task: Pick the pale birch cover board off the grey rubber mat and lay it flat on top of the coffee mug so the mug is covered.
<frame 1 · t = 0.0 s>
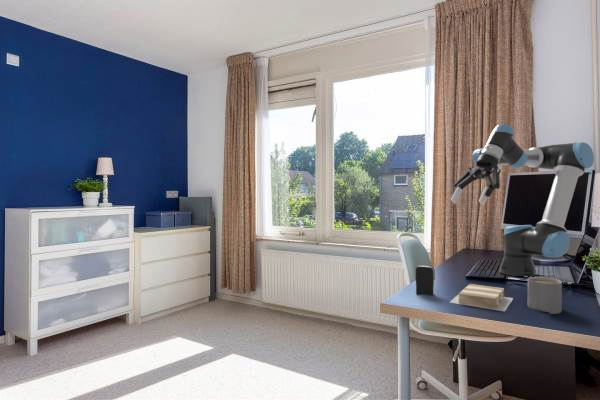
hand: (466, 202, 152), 36 cm above the table, tool tilted 35°, fingers open, 13 cm apart
battery: (425, 295, 153), on the table
cover board: (481, 300, 143), point 1 cm above the table, touching grey mat
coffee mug: (543, 308, 136), on the table
grey mat: (481, 301, 143), on the table
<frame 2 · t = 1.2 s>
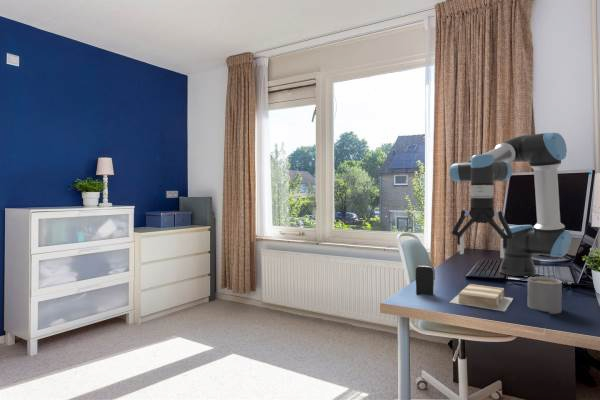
hand: (481, 255, 142), 17 cm above the table, tool pointing down, fingers open, 13 cm apart
nothing on the table moved.
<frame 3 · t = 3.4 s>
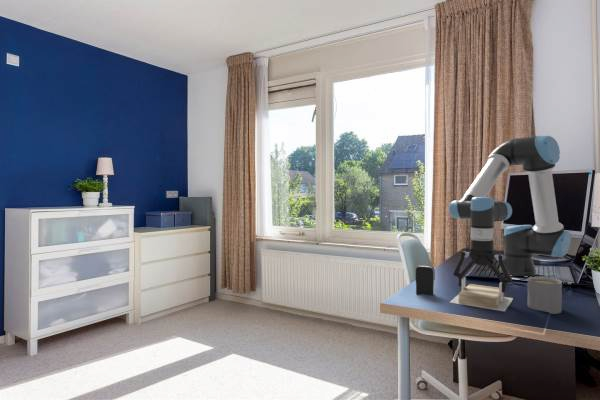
hand: (481, 298, 143), 1 cm above the table, tool pointing down, fingers closed on cover board, 12 cm apart
cover board: (481, 300, 143), point 1 cm above the table, touching grey mat, gripper
everything else where it was.
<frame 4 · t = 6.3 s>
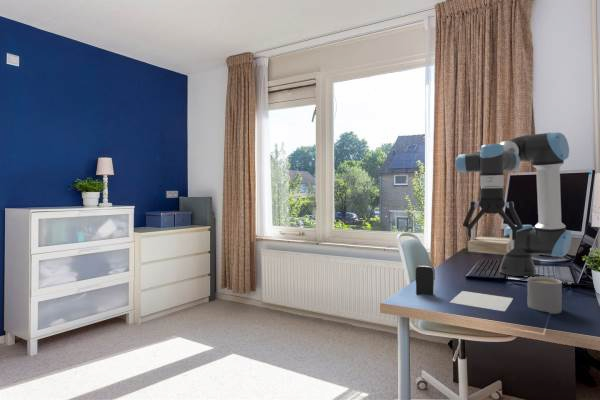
hand: (491, 247, 141), 20 cm above the table, tool pointing down, fingers closed on cover board, 12 cm apart
cover board: (491, 249, 141), point 19 cm above the table, touching gripper
everything else where it was.
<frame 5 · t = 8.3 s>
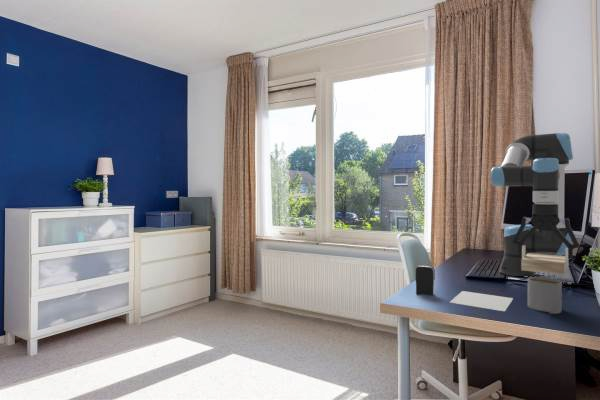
hand: (544, 266, 135), 15 cm above the table, tool pointing down, fingers closed on cover board, 12 cm apart
cover board: (544, 268, 135), point 14 cm above the table, touching gripper
everything else where it was.
when the fingers open (13 cm above the table, at t = 9.6 s): cover board drops 3 cm, resting on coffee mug.
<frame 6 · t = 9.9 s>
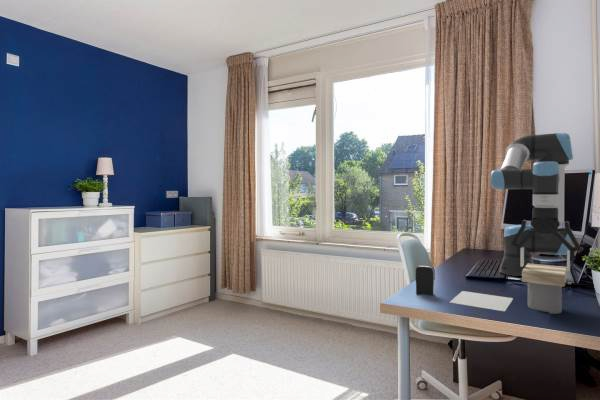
hand: (544, 268, 135), 14 cm above the table, tool pointing down, fingers open, 13 cm apart
cover board: (544, 279, 135), point 10 cm above the table, touching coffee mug
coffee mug: (543, 308, 136), on the table, touching cover board
everything else where it was.
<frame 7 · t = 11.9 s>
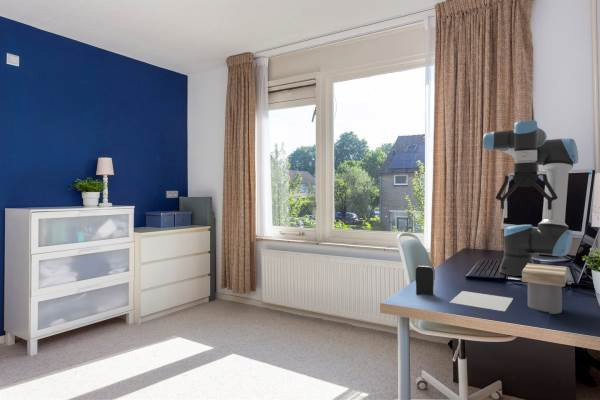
hand: (525, 218, 149), 30 cm above the table, tool pointing down, fingers open, 13 cm apart
nothing on the table moved.
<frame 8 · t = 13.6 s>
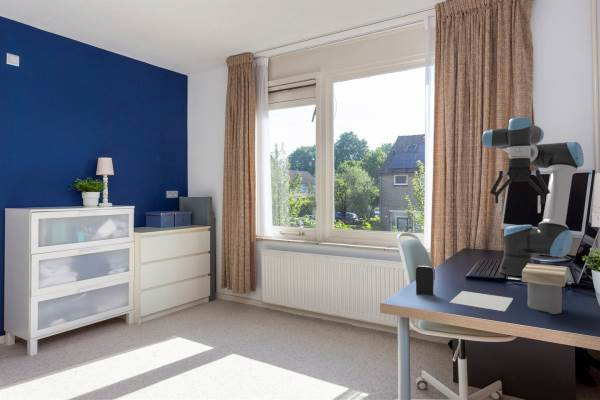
hand: (518, 212, 153), 32 cm above the table, tool pointing down, fingers open, 13 cm apart
nothing on the table moved.
at the end: cover board inside the target area on the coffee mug (0.2 cm from its centre), point 10.2 cm above the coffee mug's base; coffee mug tilted 0°; the gripper is holding nothing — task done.
